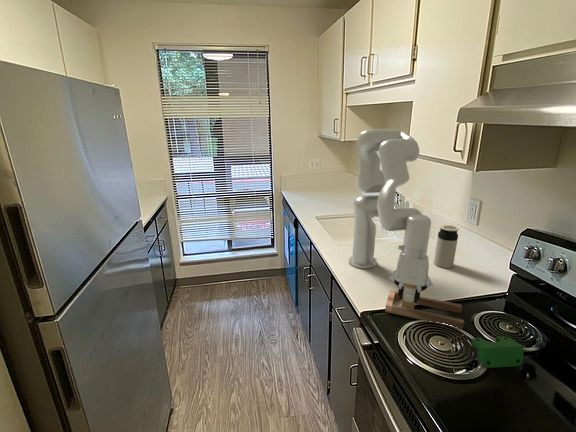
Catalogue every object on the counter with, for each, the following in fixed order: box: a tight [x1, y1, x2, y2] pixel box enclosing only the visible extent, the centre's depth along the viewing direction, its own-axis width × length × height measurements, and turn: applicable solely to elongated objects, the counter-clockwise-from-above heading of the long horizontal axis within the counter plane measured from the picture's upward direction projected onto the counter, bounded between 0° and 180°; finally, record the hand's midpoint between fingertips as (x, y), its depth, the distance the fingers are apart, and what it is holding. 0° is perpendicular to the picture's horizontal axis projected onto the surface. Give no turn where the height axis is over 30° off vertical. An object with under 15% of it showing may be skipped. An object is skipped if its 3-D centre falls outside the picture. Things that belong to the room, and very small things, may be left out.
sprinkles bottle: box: [400, 283, 417, 309], centre depth 113 cm, size 5×5×13 cm
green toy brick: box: [471, 336, 524, 369], centre depth 90 cm, size 12×6×9 cm, turn 89°
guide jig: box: [384, 290, 465, 330], centre depth 113 cm, size 11×24×2 cm, turn 66°
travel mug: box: [433, 224, 460, 269], centre depth 145 cm, size 8×8×18 cm
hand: (408, 298), depth 114 cm, fingers closed on sprinkles bottle, 4 cm apart
